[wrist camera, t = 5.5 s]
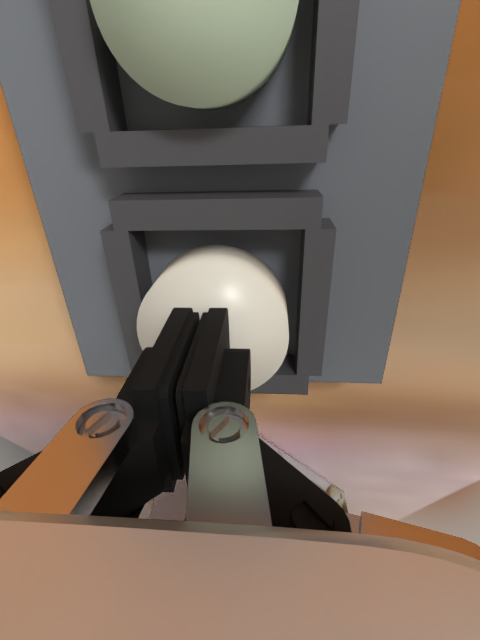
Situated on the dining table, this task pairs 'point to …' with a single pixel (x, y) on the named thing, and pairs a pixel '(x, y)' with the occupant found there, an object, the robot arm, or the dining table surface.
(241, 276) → the cream button
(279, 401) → the dining table surface
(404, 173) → the button panel
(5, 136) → the dining table surface
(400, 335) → the dining table surface
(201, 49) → the sage button
